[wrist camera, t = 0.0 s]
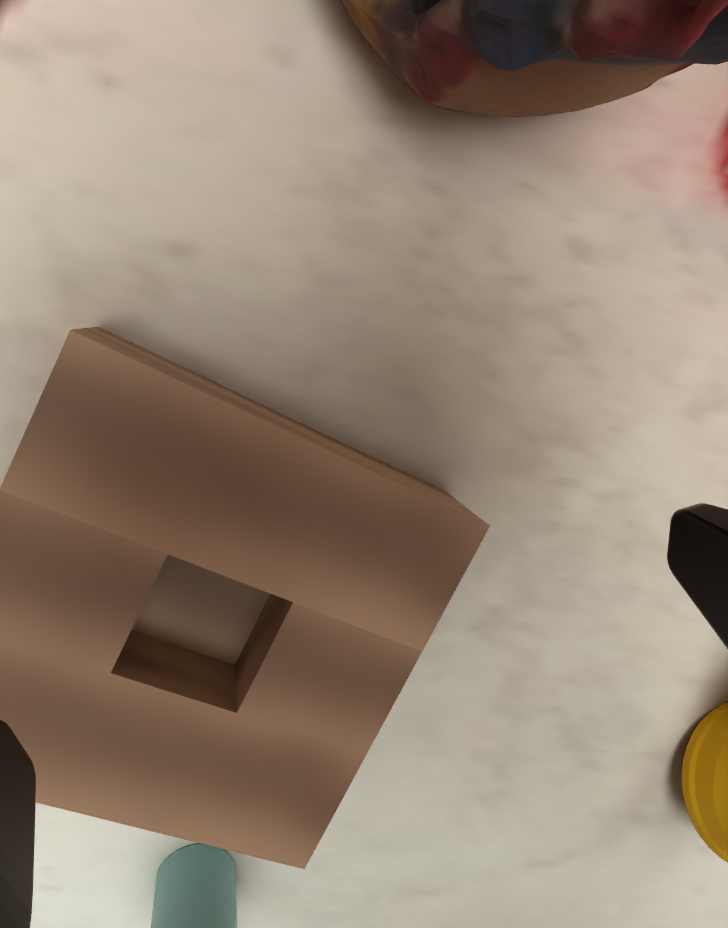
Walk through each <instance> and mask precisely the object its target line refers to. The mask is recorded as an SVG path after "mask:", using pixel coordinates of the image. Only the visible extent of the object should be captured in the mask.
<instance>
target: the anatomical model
mask: <svg viewBox="0 0 728 928" xmlns="http://www.w3.org/2000/svg"><path fill="white" fill-rule="evenodd" d="M342 2H343V4H344V5H345V7H346V9H347V11H348V13H349V15H350V17H351V19H352V20H353V22H354V23H355V24H356V26H357V27H358V29H359V30H360V32H361V33H362V35H363V36H364V38H365V39H366V41H367V42H368V44H369V45H370V46H371V47H372V48H373V49H374V50H375V51H376V52H377V53H378V54H379V55H380V56H381V58H382V59H383V60H384V61H385V62H386V63H387V65H388V66H389V67H390V68H391V69H392V70H393V72H394V73H395V74H396V75H397V76H398V78H399V79H401V80H402V81H403V82H404V83H405V84H406V85H407V86H408V87H410V88H411V89H412V90H413V91H415V92H416V93H418V94H419V95H420V96H421V97H422V98H424V99H426V100H427V101H429V102H431V103H433V104H435V105H438V106H441V107H444V108H446V109H449V110H455V111H462V112H468V113H473V114H482V115H495V116H508V117H520V116H543V115H550V114H557V113H564V112H571V111H578V110H582V109H585V108H589V107H593V106H596V105H600V104H604V103H607V102H610V101H613V100H617V99H620V98H623V97H626V96H628V95H631V94H634V93H636V92H639V91H642V90H644V89H646V88H648V87H649V86H651V85H652V84H653V83H654V82H656V81H657V80H658V79H661V78H663V77H665V76H667V75H670V74H672V73H675V72H677V71H680V70H682V69H685V68H687V67H688V66H690V65H692V64H694V63H697V64H716V65H717V64H720V63H724V62H727V61H728V0H342Z"/></svg>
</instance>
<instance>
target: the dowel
mask: <svg viewBox="0 0 728 928" xmlns="http://www.w3.org/2000/svg"><path fill="white" fill-rule="evenodd" d="M151 928H237V909H236V872H235V864H234V861H233V859H232V857H231V856H230V855H229V854H228V853H227V852H226V851H225V850H223V849H222V848H218V847H214V846H210V845H206V844H194V845H189V846H186V847H183V848H181V849H179V850H177V851H175V852H174V853H172V854H171V855H170V856H169V857H168V858H167V859H166V860H165V861H164V862H163V863H162V865H161V866H160V868H159V870H158V873H157V877H156V886H155V895H154V904H153V913H152V922H151Z"/></svg>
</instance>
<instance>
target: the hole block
mask: <svg viewBox="0 0 728 928" xmlns="http://www.w3.org/2000/svg"><path fill="white" fill-rule="evenodd" d="M489 527H490V526H489V525H488V524H486V523H485V522H484V521H483V520H481V519H480V518H479V517H477V516H476V515H475V514H474V513H472V512H471V511H470V510H469V509H467V508H466V507H465V506H464V505H462V504H461V503H460V502H458V501H457V500H456V499H455V498H453V497H452V496H451V495H450V494H448V493H446V492H444V491H442V490H440V489H437V488H435V487H433V486H431V485H429V484H427V483H425V482H423V481H421V480H419V479H416V478H414V477H412V476H410V475H408V474H406V473H404V472H402V471H400V470H397V469H395V468H393V467H391V466H389V465H387V464H385V463H383V462H381V461H379V460H376V459H374V458H372V457H370V456H368V455H366V454H364V453H362V452H360V451H358V450H355V449H353V448H351V447H349V446H347V445H345V444H343V443H341V442H339V441H336V440H334V439H332V438H330V437H328V436H326V435H324V434H322V433H320V432H318V431H315V430H313V429H311V428H309V427H307V426H305V425H303V424H301V423H299V422H296V421H294V420H292V419H290V418H288V417H286V416H284V415H282V414H280V413H278V412H275V411H273V410H271V409H269V408H267V407H265V406H263V405H261V404H259V403H257V402H254V401H252V400H250V399H248V398H246V397H244V396H242V395H240V394H238V393H235V392H233V391H231V390H229V389H227V388H225V387H223V386H221V385H219V384H217V383H214V382H212V381H210V380H208V379H206V378H204V377H202V376H200V375H198V374H195V373H193V372H191V371H189V370H187V369H185V368H183V367H181V366H179V365H177V364H174V363H172V362H170V361H168V360H166V359H164V358H162V357H160V356H158V355H156V354H153V353H151V352H149V351H147V350H145V349H143V348H141V347H139V346H137V345H134V344H132V343H130V342H128V341H126V340H124V339H122V338H120V337H118V336H116V335H113V334H111V333H109V332H107V331H105V330H103V329H101V328H99V327H93V328H84V329H75V330H70V332H69V334H68V337H67V339H66V341H65V343H64V346H63V348H62V350H61V352H60V355H59V357H58V359H57V361H56V364H55V366H54V368H53V370H52V373H51V375H50V377H49V379H48V382H47V384H46V386H45V388H44V391H43V393H42V395H41V398H40V400H39V402H38V404H37V407H36V409H35V411H34V413H33V416H32V418H31V420H30V422H29V425H28V427H27V429H26V431H25V434H24V436H23V438H22V440H21V443H20V445H19V447H18V449H17V452H16V454H15V456H14V458H13V461H12V463H11V465H10V467H9V470H8V472H7V474H6V476H5V479H4V481H3V483H2V485H1V488H0V720H2V721H4V722H6V723H7V724H8V725H9V727H10V728H11V730H12V731H13V733H14V734H15V736H16V737H17V739H18V740H19V742H20V743H21V745H22V746H23V748H24V749H25V751H26V752H27V754H28V755H29V757H30V759H31V760H32V763H33V765H34V769H35V774H36V799H35V802H37V803H41V804H45V805H49V806H53V807H57V808H61V809H65V810H69V811H73V812H77V813H81V814H85V815H89V816H93V817H97V818H101V819H105V820H109V821H113V822H117V823H121V824H125V825H129V826H133V827H137V828H141V829H145V830H149V831H153V832H158V833H162V834H166V835H170V836H174V837H178V838H182V839H186V840H190V841H194V842H198V843H202V844H206V845H210V846H214V847H218V848H222V849H226V850H230V851H234V852H238V853H242V854H246V855H250V856H254V857H258V858H262V859H266V860H270V861H274V862H278V863H282V864H286V865H290V866H294V867H298V868H302V869H305V867H306V865H307V863H308V861H309V860H310V858H311V856H312V854H313V852H314V850H315V848H316V847H317V845H318V843H319V841H320V839H321V837H322V836H323V834H324V832H325V830H326V828H327V826H328V824H329V823H330V821H331V819H332V817H333V815H334V813H335V812H336V810H337V808H338V806H339V804H340V802H341V800H342V799H343V797H344V795H345V793H346V791H347V789H348V787H349V786H350V784H351V782H352V780H353V778H354V776H355V775H356V773H357V771H358V769H359V767H360V765H361V763H362V762H363V760H364V758H365V756H366V754H367V752H368V750H369V749H370V747H371V745H372V743H373V741H374V739H375V738H376V736H377V734H378V732H379V730H380V728H381V726H382V725H383V723H384V721H385V719H386V717H387V715H388V713H389V712H390V710H391V708H392V706H393V704H394V702H395V701H396V699H397V697H398V695H399V693H400V691H401V689H402V688H403V686H404V684H405V682H406V680H407V678H408V677H409V675H410V673H411V671H412V669H413V667H414V665H415V664H416V662H417V660H418V658H419V656H420V654H421V652H422V651H423V649H424V647H425V645H426V643H427V641H428V640H429V638H430V636H431V634H432V632H433V630H434V628H435V627H436V625H437V623H438V621H439V619H440V617H441V615H442V614H443V612H444V610H445V608H446V606H447V604H448V603H449V601H450V599H451V597H452V595H453V593H454V591H455V590H456V588H457V586H458V584H459V582H460V580H461V578H462V577H463V575H464V573H465V571H466V569H467V567H468V566H469V564H470V562H471V560H472V558H473V556H474V554H475V553H476V551H477V549H478V547H479V545H480V543H481V542H482V540H483V538H484V536H485V534H486V532H487V530H488V529H489Z"/></svg>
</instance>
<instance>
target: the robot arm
mask: <svg viewBox="0 0 728 928" xmlns="http://www.w3.org/2000/svg"><path fill="white" fill-rule="evenodd" d="M667 559H668V564H669V567H670V569H671V572H672V573H673V575H674V576H675V578H676V579H677V580H678V582H679V583H680V584H681V586H682V587H683V589H684V590H685V591H686V593H687V594H688V595H689V597H690V598H691V600H692V601H693V602H694V604H695V605H696V606H697V608H698V609H699V610H700V612H701V613H702V615H703V616H704V617H705V619H706V620H707V621H708V623H709V624H710V625H711V627H712V628H713V630H714V631H715V632H716V634H717V635H718V636H719V638H720V639H721V641H722V642H723V643H724V645H725V646H726V647H727V649H728V510H727V509H724V508H720V507H716V506H713V505H709V504H703V503H701V504H696V505H692V506H689V507H686V508H683V509H679V510H677V511H676V512H675V513H674V514H673V516H672V518H671V524H670V533H669V543H668V552H667ZM35 799H36V774H35V769H34V765H33V763H32V760H31V759H30V757H29V755H28V754H27V752H26V751H25V749H24V748H23V746H22V745H21V743H20V742H19V740H18V739H17V737H16V736H15V734H14V733H13V731H12V730H11V728H10V727H9V725H8V724H7V723H6V722H4V721H2V720H0V928H30V922H31V913H32V896H33V868H34V834H35Z"/></svg>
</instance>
